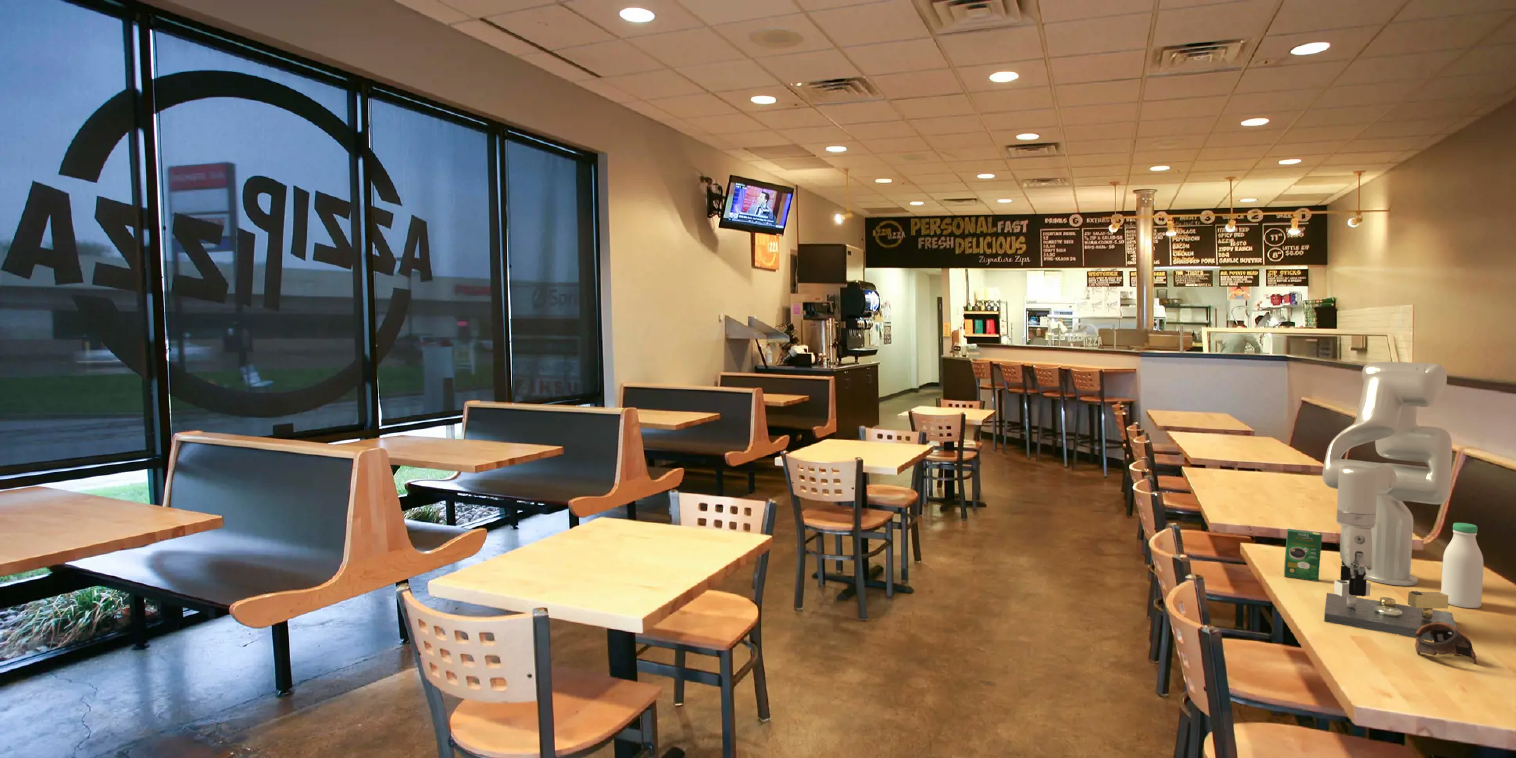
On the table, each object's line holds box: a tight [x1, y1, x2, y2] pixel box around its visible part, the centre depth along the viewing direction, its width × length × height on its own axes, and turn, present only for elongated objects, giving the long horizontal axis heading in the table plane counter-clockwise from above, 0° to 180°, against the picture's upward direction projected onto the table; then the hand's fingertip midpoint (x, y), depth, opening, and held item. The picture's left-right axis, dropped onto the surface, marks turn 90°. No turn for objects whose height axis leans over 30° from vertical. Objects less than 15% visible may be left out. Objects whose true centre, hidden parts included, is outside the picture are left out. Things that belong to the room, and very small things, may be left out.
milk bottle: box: [1440, 522, 1484, 609], centre depth 203 cm, size 8×8×20 cm
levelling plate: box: [1323, 592, 1458, 642], centre depth 191 cm, size 18×24×4 cm
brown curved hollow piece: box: [1414, 622, 1478, 665], centre depth 171 cm, size 12×10×8 cm
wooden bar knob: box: [1407, 590, 1449, 619], centre depth 187 cm, size 7×2×6 cm, turn 88°
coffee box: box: [1283, 528, 1323, 582], centre depth 223 cm, size 8×3×13 cm, turn 58°
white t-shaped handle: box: [1333, 579, 1371, 607], centre depth 195 cm, size 7×2×6 cm, turn 93°
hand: (1352, 588), depth 195 cm, fingers open, 9 cm apart
